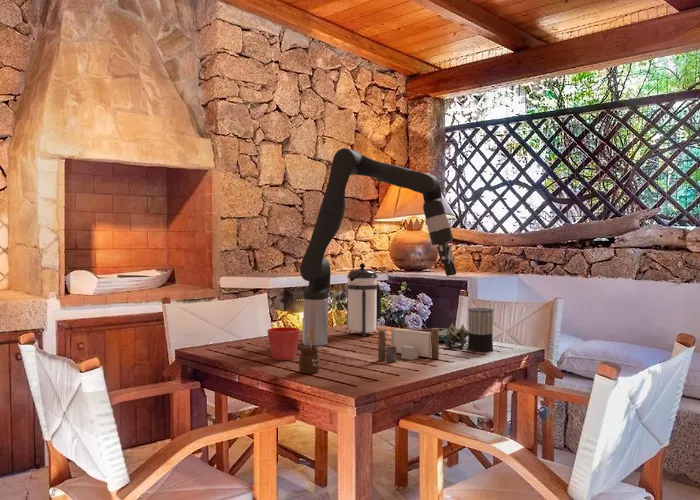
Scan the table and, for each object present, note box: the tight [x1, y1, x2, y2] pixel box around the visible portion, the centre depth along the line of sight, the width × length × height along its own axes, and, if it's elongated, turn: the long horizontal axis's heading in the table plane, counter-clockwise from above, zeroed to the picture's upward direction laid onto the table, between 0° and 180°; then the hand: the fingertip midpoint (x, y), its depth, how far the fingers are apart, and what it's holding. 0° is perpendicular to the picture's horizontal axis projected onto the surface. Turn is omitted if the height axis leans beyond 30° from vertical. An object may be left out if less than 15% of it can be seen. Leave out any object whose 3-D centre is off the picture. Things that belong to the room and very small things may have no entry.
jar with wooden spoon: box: [298, 330, 320, 375], centre depth 182 cm, size 6×6×12 cm
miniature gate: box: [411, 322, 469, 343], centre depth 244 cm, size 27×6×30 cm
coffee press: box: [343, 262, 382, 338], centre depth 256 cm, size 17×16×30 cm
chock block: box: [400, 345, 419, 361], centre depth 204 cm, size 4×4×4 cm
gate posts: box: [377, 327, 440, 363], centre depth 200 cm, size 21×4×10 cm, turn 103°
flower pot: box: [267, 326, 301, 361], centre depth 203 cm, size 11×11×10 cm
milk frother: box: [444, 307, 494, 353], centre depth 221 cm, size 14×16×15 cm
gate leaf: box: [390, 328, 431, 358], centre depth 209 cm, size 15×2×8 cm, turn 53°
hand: (451, 275), depth 208 cm, fingers open, 8 cm apart
